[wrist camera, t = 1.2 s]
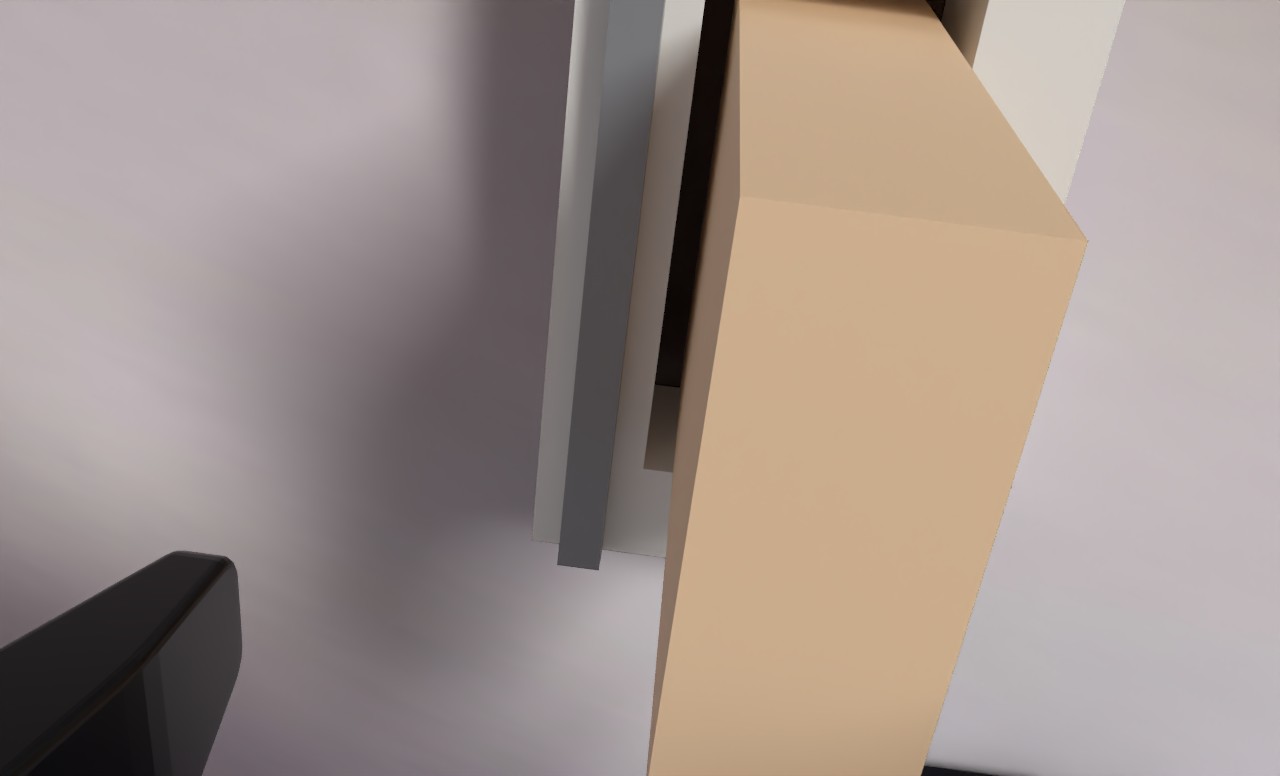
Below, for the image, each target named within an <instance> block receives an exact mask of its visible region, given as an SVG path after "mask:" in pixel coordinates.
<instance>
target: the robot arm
mask: <svg viewBox="0 0 1280 776" xmlns="http://www.w3.org/2000/svg"><path fill="white" fill-rule="evenodd" d="M241 657H242V633H241V618H240V603H239V588H238V575H237V571H236V568H235V565H234V563H233V562H232V561H231V560H230V559H229V558H227V557H225V556H220V555H213V554H205V553H198V552H191V551H175V552H172V553H169V554H167V555H165V556H163V557H162V558H160V559H158V560H156V561H154V562H153V563H151V564H149V565H147V566H146V567H144V568H142V569H140V570H139V571H137V572H135V573H133V574H131V575H130V576H128V577H126V578H124V579H123V580H121V581H119V582H117V583H116V584H114V585H112V586H110V587H108V588H107V589H105V590H103V591H101V592H100V593H98V594H96V595H94V596H93V597H91V598H89V599H87V600H85V601H84V602H82V603H80V604H78V605H77V606H75V607H73V608H71V609H70V610H68V611H66V612H64V613H62V614H61V615H59V616H57V617H55V618H54V619H52V620H50V621H48V622H47V623H45V624H43V625H41V626H39V627H38V628H36V629H34V630H32V631H31V632H29V633H27V634H25V635H24V636H22V637H20V638H18V639H16V640H15V641H13V642H11V643H9V644H8V645H6V646H4V647H2V648H1V649H0V776H202V773H203V770H204V768H205V765H206V762H207V759H208V757H209V754H210V751H211V748H212V746H213V743H214V740H215V737H216V735H217V732H218V729H219V726H220V724H221V721H222V718H223V715H224V713H225V710H226V707H227V704H228V702H229V699H230V696H231V693H232V691H233V688H234V685H235V682H236V679H237V676H238V672H239V668H240V663H241ZM921 776H991V775H983V774H976V773H968V772H961V771H954V770H946V769H939V768H931V767H923V770H922V773H921Z"/></svg>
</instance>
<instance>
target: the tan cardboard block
mask: <svg viewBox="0 0 1280 776" xmlns="http://www.w3.org/2000/svg"><path fill="white" fill-rule="evenodd" d="M1087 243H1088V240H1087V238H1086V237H1085V235H1084V234H1083V232H1082V231H1081V229H1080V228H1079V227H1078V225H1077V224H1076V222H1075V221H1074V219H1073V218H1072V216H1071V215H1070V213H1069V212H1068V210H1067V209H1066V207H1065V206H1064V204H1063V203H1062V201H1061V200H1060V198H1059V197H1058V195H1057V194H1056V192H1055V191H1054V189H1053V188H1052V187H1051V185H1050V184H1049V182H1048V181H1047V179H1046V178H1045V176H1044V175H1043V173H1042V172H1041V170H1040V169H1039V167H1038V166H1037V164H1036V163H1035V161H1034V160H1033V158H1032V157H1031V155H1030V154H1029V152H1028V151H1027V149H1026V148H1025V147H1024V145H1023V144H1022V142H1021V141H1020V139H1019V138H1018V136H1017V135H1016V133H1015V132H1014V130H1013V129H1012V127H1011V126H1010V124H1009V123H1008V121H1007V120H1006V118H1005V117H1004V115H1003V114H1002V112H1001V111H1000V109H999V108H998V107H997V105H996V104H995V102H994V101H993V99H992V98H991V96H990V95H989V93H988V92H987V90H986V89H985V87H984V86H983V84H982V83H981V81H980V80H979V78H978V77H977V75H976V74H975V72H974V71H973V70H972V68H971V67H970V65H969V64H968V62H967V61H966V59H965V58H964V56H963V55H962V53H961V52H960V50H959V49H958V47H957V46H956V44H955V43H954V41H953V40H952V38H951V37H950V35H949V34H948V32H947V31H946V30H945V28H944V27H943V25H942V24H941V22H940V21H939V19H938V18H937V16H936V15H935V13H934V12H933V10H932V9H931V7H930V6H929V4H928V3H927V1H926V0H734V7H733V14H732V21H731V28H730V35H729V42H728V49H727V56H726V63H725V70H724V77H723V84H722V91H721V98H720V105H719V112H718V119H717V126H716V132H715V139H714V146H713V153H712V160H711V167H710V174H709V181H708V188H707V195H706V202H705V209H704V216H703V223H702V230H701V237H700V244H699V251H698V258H697V265H696V272H695V279H694V286H693V293H692V300H691V307H690V314H689V321H688V328H687V335H686V342H685V349H684V356H683V365H682V376H681V388H680V399H679V410H678V422H677V433H676V445H675V456H674V467H673V479H672V490H671V502H670V513H669V524H668V536H667V547H666V559H665V570H664V581H663V593H662V604H661V616H660V627H659V638H658V650H657V661H656V673H655V684H654V695H653V707H652V718H651V729H650V741H649V752H648V764H647V775H646V776H921V773H922V770H923V767H924V764H925V760H926V757H927V754H928V751H929V748H930V744H931V741H932V738H933V735H934V732H935V728H936V725H937V722H938V719H939V716H940V712H941V709H942V706H943V703H944V700H945V697H946V693H947V690H948V687H949V684H950V681H951V677H952V674H953V671H954V668H955V665H956V661H957V658H958V655H959V652H960V649H961V645H962V642H963V639H964V636H965V633H966V630H967V626H968V623H969V620H970V617H971V614H972V610H973V607H974V604H975V601H976V598H977V594H978V591H979V588H980V585H981V582H982V578H983V575H984V572H985V569H986V566H987V563H988V559H989V556H990V553H991V550H992V547H993V543H994V540H995V537H996V534H997V531H998V527H999V524H1000V521H1001V518H1002V515H1003V511H1004V508H1005V505H1006V502H1007V499H1008V496H1009V492H1010V489H1011V486H1012V483H1013V480H1014V476H1015V473H1016V470H1017V467H1018V464H1019V460H1020V457H1021V454H1022V451H1023V448H1024V444H1025V441H1026V438H1027V435H1028V432H1029V429H1030V425H1031V422H1032V419H1033V416H1034V413H1035V409H1036V406H1037V403H1038V400H1039V397H1040V393H1041V390H1042V387H1043V384H1044V381H1045V377H1046V374H1047V371H1048V368H1049V365H1050V362H1051V358H1052V355H1053V352H1054V349H1055V346H1056V342H1057V339H1058V336H1059V333H1060V330H1061V326H1062V323H1063V320H1064V317H1065V314H1066V310H1067V307H1068V304H1069V301H1070V298H1071V295H1072V291H1073V288H1074V285H1075V282H1076V279H1077V275H1078V272H1079V269H1080V266H1081V263H1082V259H1083V256H1084V253H1085V250H1086V247H1087Z"/></svg>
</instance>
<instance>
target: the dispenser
mask: <svg viewBox="0 0 1280 776" xmlns="http://www.w3.org/2000/svg"><path fill="white" fill-rule="evenodd" d="M704 4H705V0H575V7H574V19H573V32H572V44H571V57H570V69H569V82H568V94H567V107H566V119H565V131H564V144H563V156H562V169H561V181H560V194H559V206H558V219H557V231H556V244H555V256H554V268H553V281H552V293H551V306H550V318H549V331H548V343H547V356H546V368H545V381H544V393H543V405H542V418H541V430H540V443H539V455H538V468H537V480H536V493H535V505H534V517H533V530H532V540H534V541H541V542H549V543H556V544H559V553H558V563H557V565H562V566H570V567H577V568H585V569H593V570H599V564H600V558H601V552H602V550H609V551H617V552H624V553H632V554H640V555H647V556H655V557H662V558H666V547H667V536H668V524H669V513H670V502H671V490H672V479H673V467H674V456H675V445H676V433H677V422H678V410H679V399H680V388H678V387H670V386H662V385H655V376H656V369H657V361H658V354H659V346H660V338H661V331H662V323H663V316H664V308H665V300H666V293H667V285H668V278H669V270H670V262H671V255H672V247H673V240H674V232H675V224H676V217H677V209H678V202H679V194H680V187H681V179H682V171H683V164H684V156H685V149H686V141H687V133H688V126H689V118H690V111H691V103H692V95H693V88H694V80H695V73H696V65H697V58H698V50H699V42H700V35H701V27H702V20H703V12H704ZM1124 4H1125V0H946V3H945V7H944V12H943V16H942V20H941V24H942V25H943V27H944V28H945V30H946V31H947V32H948V34H949V35H950V37H951V38H952V40H953V41H954V43H955V44H956V46H957V47H958V49H959V50H960V52H961V53H962V55H963V56H964V58H965V59H966V61H967V62H968V64H969V65H970V67H971V68H972V70H973V71H974V72H975V74H976V75H977V77H978V78H979V80H980V81H981V83H982V84H983V86H984V87H985V89H986V90H987V92H988V93H989V95H990V96H991V98H992V99H993V101H994V102H995V104H996V105H997V107H998V108H999V109H1000V111H1001V112H1002V114H1003V115H1004V117H1005V118H1006V120H1007V121H1008V123H1009V124H1010V126H1011V127H1012V129H1013V130H1014V132H1015V133H1016V135H1017V136H1018V138H1019V139H1020V141H1021V142H1022V144H1023V145H1024V147H1025V148H1026V149H1027V151H1028V152H1029V154H1030V155H1031V157H1032V158H1033V160H1034V161H1035V163H1036V164H1037V166H1038V167H1039V169H1040V170H1041V172H1042V173H1043V175H1044V176H1045V178H1046V179H1047V181H1048V182H1049V184H1050V185H1051V187H1052V188H1053V189H1054V191H1055V192H1056V194H1057V195H1058V197H1059V198H1060V200H1061V201H1062V203H1063V204H1064V205H1065V202H1066V198H1067V195H1068V191H1069V188H1070V185H1071V181H1072V178H1073V175H1074V171H1075V168H1076V165H1077V161H1078V158H1079V155H1080V151H1081V148H1082V145H1083V141H1084V138H1085V134H1086V131H1087V128H1088V124H1089V121H1090V118H1091V114H1092V111H1093V108H1094V104H1095V101H1096V98H1097V94H1098V91H1099V88H1100V84H1101V81H1102V77H1103V74H1104V71H1105V67H1106V64H1107V61H1108V57H1109V54H1110V51H1111V47H1112V44H1113V41H1114V37H1115V34H1116V30H1117V27H1118V24H1119V20H1120V17H1121V14H1122V10H1123V7H1124Z"/></svg>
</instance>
